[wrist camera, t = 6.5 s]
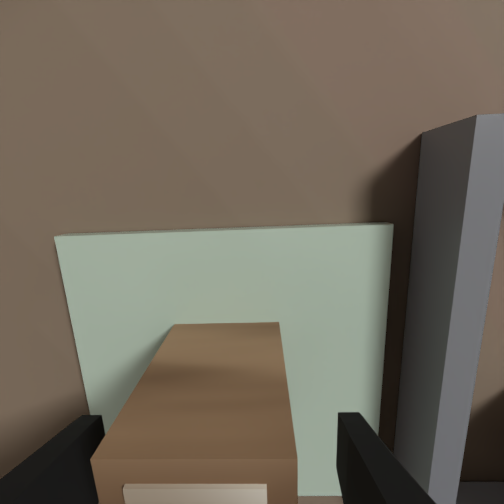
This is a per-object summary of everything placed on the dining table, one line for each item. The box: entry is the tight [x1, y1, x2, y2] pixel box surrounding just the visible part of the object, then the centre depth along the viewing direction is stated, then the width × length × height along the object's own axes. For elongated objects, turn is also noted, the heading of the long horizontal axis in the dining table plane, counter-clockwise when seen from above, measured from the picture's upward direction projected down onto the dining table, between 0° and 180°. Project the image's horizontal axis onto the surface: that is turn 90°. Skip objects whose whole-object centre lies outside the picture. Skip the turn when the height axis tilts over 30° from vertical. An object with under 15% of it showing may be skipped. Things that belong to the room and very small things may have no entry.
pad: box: [54, 222, 394, 496], centre depth 12 cm, size 12×12×1 cm
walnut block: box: [90, 322, 298, 504], centre depth 8 cm, size 4×4×6 cm
